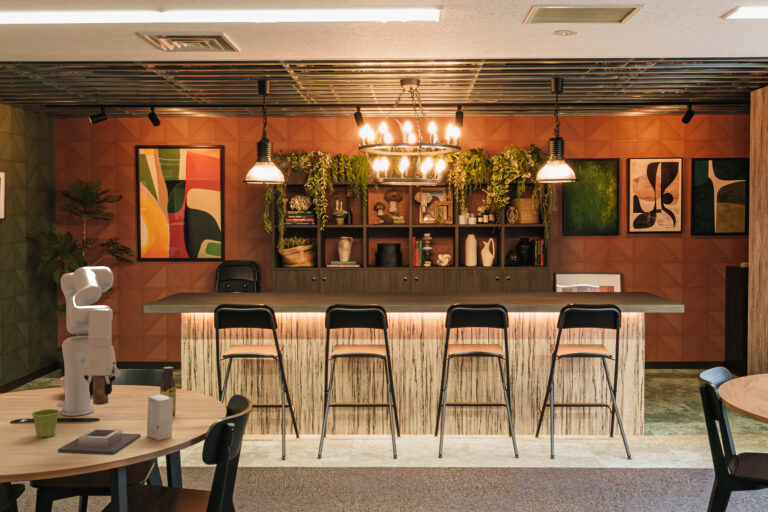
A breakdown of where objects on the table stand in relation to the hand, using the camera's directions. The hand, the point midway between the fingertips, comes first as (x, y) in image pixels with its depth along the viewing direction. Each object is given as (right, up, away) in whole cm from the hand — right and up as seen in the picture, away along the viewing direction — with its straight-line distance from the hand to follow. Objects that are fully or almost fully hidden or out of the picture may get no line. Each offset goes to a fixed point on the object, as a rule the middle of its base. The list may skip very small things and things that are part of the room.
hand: (100, 393), depth 241 cm
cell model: (-39, -16, +73) cm, 84 cm away
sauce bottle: (+12, -17, +39) cm, 44 cm away
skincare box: (+18, -18, +10) cm, 27 cm away
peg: (0, -3, 0) cm, 3 cm away
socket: (0, -18, +1) cm, 18 cm away
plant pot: (-24, -18, +10) cm, 32 cm away
